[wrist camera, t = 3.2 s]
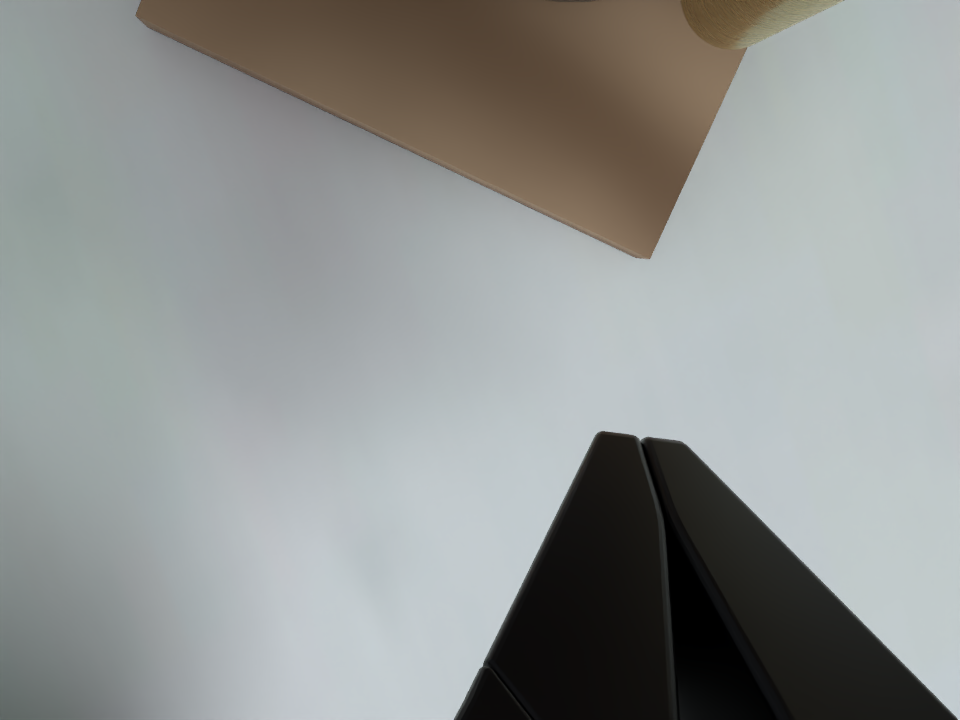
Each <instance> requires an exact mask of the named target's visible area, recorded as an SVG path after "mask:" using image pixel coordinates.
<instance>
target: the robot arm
mask: <svg viewBox="0 0 960 720" xmlns="http://www.w3.org/2000/svg"><path fill="white" fill-rule="evenodd" d="M454 720H958V719H957V718H956V716H955V715H954V714H953V713H952V712H951V711H950V710H949V709H948V708H947V707H946V706H945V705H944V704H943V703H942V702H941V701H940V700H939V699H938V698H937V697H936V696H935V695H934V694H933V693H932V692H931V691H930V690H929V689H928V688H927V687H926V686H925V685H924V684H923V683H922V682H921V681H920V680H919V679H918V678H917V677H916V676H915V675H914V674H913V673H912V672H911V671H910V670H909V669H908V668H907V667H906V666H905V665H904V664H903V663H902V662H901V661H900V660H899V659H898V658H897V657H896V656H895V655H894V654H893V653H892V652H891V651H890V650H889V649H888V648H887V647H886V646H885V645H884V644H883V643H882V642H881V641H880V640H879V639H878V638H877V637H876V636H875V635H874V634H873V633H872V632H871V631H870V630H869V629H868V628H867V627H866V626H865V625H864V623H863V622H862V621H861V620H860V619H859V618H858V617H857V616H856V615H855V614H854V613H853V612H852V611H851V610H850V609H849V608H848V607H847V606H846V605H845V604H844V603H843V602H842V601H841V600H840V599H839V598H838V597H837V596H836V595H835V594H834V593H833V592H832V591H831V590H830V589H829V588H828V587H827V586H826V585H825V584H824V583H823V582H822V581H821V580H820V579H819V578H818V577H817V576H816V575H815V574H814V573H813V572H812V571H811V570H810V569H809V568H808V567H807V566H806V565H805V564H804V563H803V562H802V561H801V560H800V559H799V558H798V557H797V556H796V555H795V554H794V553H793V552H792V551H791V550H790V549H789V548H788V547H787V546H786V545H785V544H784V543H783V542H782V541H781V540H780V539H779V538H778V537H777V536H776V535H775V534H774V533H773V532H772V531H771V529H770V528H769V527H768V526H767V525H766V524H765V523H764V522H763V521H762V520H761V519H760V518H759V517H758V516H757V515H756V514H755V513H754V512H753V511H752V510H751V509H750V508H749V507H748V506H747V505H746V504H745V503H744V502H743V501H742V500H741V499H740V498H739V497H738V496H737V495H736V494H735V493H734V492H733V491H732V490H731V489H730V488H729V487H728V486H727V485H726V484H725V483H724V482H723V481H722V480H721V479H720V478H719V477H718V476H717V475H716V474H715V473H714V472H713V471H712V470H711V469H710V468H709V467H708V466H707V465H706V464H705V463H704V462H703V461H702V460H701V459H700V458H699V457H698V456H697V455H696V454H695V453H694V452H693V451H692V450H691V449H690V448H689V447H688V446H687V445H686V444H684V443H683V442H681V441H676V440H668V439H660V438H652V437H646V438H644V439H642V440H641V441H640V440H639V438H637V437H636V436H634V435H629V434H621V433H613V432H605V431H601V432H598V433H597V434H596V435H595V437H594V439H593V441H592V443H591V445H590V447H589V449H588V451H587V453H586V455H585V457H584V459H583V461H582V463H581V465H580V467H579V469H578V472H577V474H576V476H575V478H574V480H573V482H572V484H571V486H570V488H569V490H568V492H567V494H566V496H565V498H564V500H563V502H562V504H561V506H560V508H559V510H558V512H557V514H556V516H555V518H554V520H553V522H552V524H551V526H550V528H549V530H548V533H547V535H546V537H545V539H544V541H543V543H542V545H541V547H540V549H539V551H538V553H537V555H536V557H535V559H534V561H533V563H532V565H531V567H530V569H529V571H528V573H527V575H526V577H525V579H524V581H523V583H522V585H521V587H520V589H519V591H518V594H517V596H516V598H515V600H514V602H513V604H512V606H511V608H510V610H509V612H508V614H507V616H506V618H505V620H504V622H503V624H502V626H501V628H500V630H499V632H498V634H497V636H496V638H495V640H494V642H493V644H492V646H491V648H490V650H489V652H488V654H487V657H486V659H485V661H484V663H483V667H481V668H480V669H479V671H478V673H477V675H476V677H475V679H474V681H473V683H472V685H471V687H470V689H469V691H468V693H467V695H466V697H465V699H464V701H463V703H462V705H461V707H460V709H459V711H458V713H457V715H456V716H455V718H454Z"/></svg>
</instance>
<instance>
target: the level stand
mask: <svg viewBox="0 0 960 720" xmlns="http://www.w3.org/2000/svg"><path fill="white" fill-rule="evenodd" d="M135 16H136V17H137V18H138V19H139V20H141V21H142V22H143V23H144V24H145V25H146V26H147V27H148V28H150V29H153V30H155V31H157V32H159V33H161V34H163V35H165V36H167V37H169V38H172V39H174V40H176V41H178V42H180V43H182V44H184V45H186V46H189V47H191V48H193V49H195V50H197V51H199V52H201V53H203V54H205V55H208V56H210V57H212V58H214V59H216V60H218V61H220V62H222V63H225V64H227V65H229V66H231V67H233V68H235V69H237V70H239V71H241V72H244V73H246V74H248V75H250V76H252V77H254V78H256V79H258V80H261V81H263V82H265V83H267V84H269V85H271V86H273V87H275V88H277V89H280V90H282V91H284V92H286V93H288V94H290V95H292V96H294V97H297V98H299V99H301V100H303V101H305V102H307V103H309V104H311V105H313V106H316V107H318V108H320V109H322V110H324V111H326V112H328V113H330V114H333V115H335V116H337V117H339V118H341V119H343V120H345V121H347V122H349V123H352V124H354V125H356V126H358V127H360V128H362V129H364V130H366V131H369V132H371V133H373V134H375V135H377V136H379V137H381V138H383V139H385V140H388V141H390V142H392V143H394V144H396V145H398V146H400V147H402V148H405V149H407V150H409V151H411V152H413V153H415V154H417V155H419V156H421V157H424V158H426V159H428V160H430V161H432V162H434V163H436V164H438V165H441V166H443V167H445V168H447V169H449V170H451V171H453V172H455V173H457V174H460V175H462V176H464V177H466V178H468V179H470V180H472V181H474V182H477V183H479V184H481V185H483V186H485V187H487V188H489V189H491V190H493V191H496V192H498V193H500V194H502V195H504V196H506V197H508V198H510V199H513V200H515V201H517V202H519V203H521V204H523V205H525V206H527V207H530V208H532V209H534V210H536V211H538V212H540V213H542V214H544V215H546V216H549V217H551V218H553V219H555V220H557V221H559V222H561V223H563V224H566V225H568V226H570V227H572V228H574V229H576V230H578V231H580V232H582V233H585V234H587V235H589V236H591V237H593V238H595V239H597V240H599V241H602V242H604V243H606V244H608V245H610V246H612V247H614V248H616V249H618V250H621V251H623V252H625V253H627V254H629V255H631V256H633V257H635V258H643V259H650V258H651V256H652V253H653V251H654V249H655V247H656V245H657V243H658V240H659V238H660V236H661V234H662V232H663V230H664V227H665V225H666V223H667V221H668V219H669V216H670V214H671V212H672V210H673V208H674V206H675V203H676V201H677V199H678V197H679V195H680V193H681V190H682V188H683V186H684V184H685V182H686V180H687V177H688V175H689V173H690V171H691V169H692V167H693V164H694V162H695V160H696V158H697V156H698V153H699V151H700V149H701V147H702V145H703V143H704V140H705V138H706V136H707V134H708V132H709V130H710V127H711V125H712V123H713V121H714V119H715V117H716V114H717V112H718V110H719V108H720V106H721V104H722V101H723V99H724V97H725V95H726V93H727V91H728V88H729V86H730V84H731V82H732V80H733V77H734V75H735V73H736V71H737V69H738V67H739V64H740V62H741V60H742V58H743V56H744V54H745V51H746V49H747V47H746V48H742V49H736V50H728V49H721V48H718V47H715V46H712V45H710V44H708V43H707V42H705V41H704V40H702V39H701V38H700V37H699V36H698V35H697V34H696V33H695V32H694V31H693V30H692V28H691V27H690V26H689V24H688V22H687V20H686V18H685V16H684V13H683V10H682V6H681V0H596V1H589V2H556V1H548V0H141V3H140V5H139V8H138V10H137V12H136V15H135Z"/></svg>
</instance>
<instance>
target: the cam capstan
mask: <svg viewBox="0 0 960 720" xmlns="http://www.w3.org/2000/svg"><path fill="white" fill-rule="evenodd" d="M548 1H556V2H589V1H596V0H548ZM842 1H844V0H681V6H682V10H683V13H684V16H685V18H686V20H687V22H688V24H689V26H690V27H691V28H692V30H693V31H694V32H695V33H696V34H697V35H698V36H699V37H700V38H701V39H702V40H704V41H705V42H707V43H708V44H710V45H712V46H715V47H718V48H721V49H728V50H736V49H742V48H746V47H749V46H751V45H753V44H756V43H758V42H760V41H762V40H764V39H766V38H768V37H770V36H772V35H774V34H776V33H778V32H780V31H782V30H784V29H786V28H789V27H791V26H793V25H795V24H797V23H799V22H801V21H803V20H805V19H807V18H809V17H811V16H813V15H815V14H817V13H819V12H821V11H824V10H826V9H828V8H830V7H832V6H834V5H836V4H838V3H840V2H842Z"/></svg>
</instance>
